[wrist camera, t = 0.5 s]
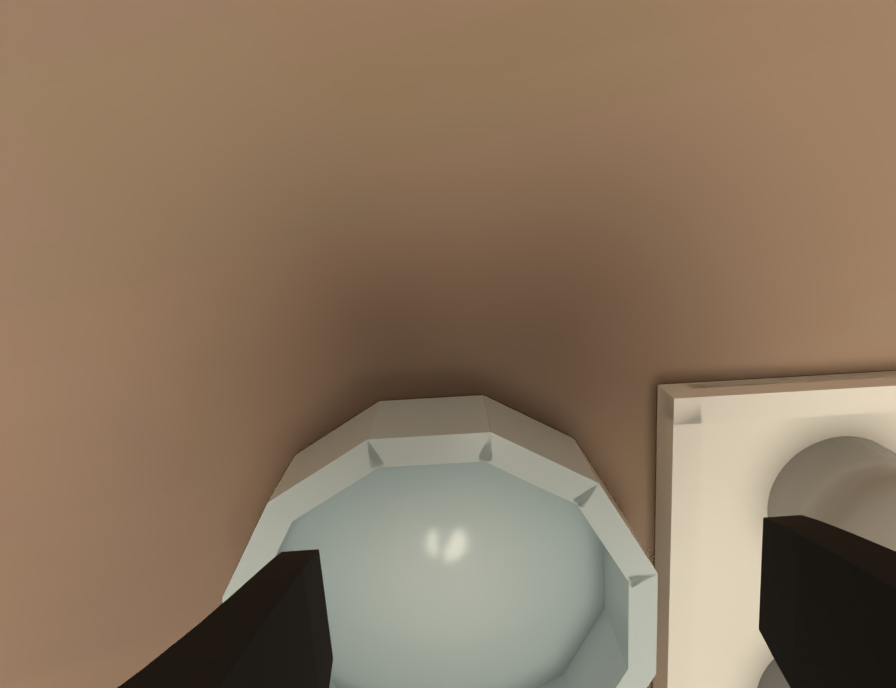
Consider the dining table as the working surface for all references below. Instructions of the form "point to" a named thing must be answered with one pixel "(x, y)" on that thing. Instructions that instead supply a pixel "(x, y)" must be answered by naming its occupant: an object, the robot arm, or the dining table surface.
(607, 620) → the bowl
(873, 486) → the grey rounded cylinder
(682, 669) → the parts tray
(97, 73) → the dining table surface
